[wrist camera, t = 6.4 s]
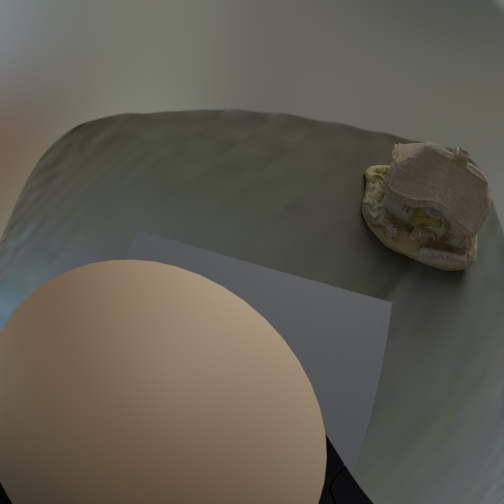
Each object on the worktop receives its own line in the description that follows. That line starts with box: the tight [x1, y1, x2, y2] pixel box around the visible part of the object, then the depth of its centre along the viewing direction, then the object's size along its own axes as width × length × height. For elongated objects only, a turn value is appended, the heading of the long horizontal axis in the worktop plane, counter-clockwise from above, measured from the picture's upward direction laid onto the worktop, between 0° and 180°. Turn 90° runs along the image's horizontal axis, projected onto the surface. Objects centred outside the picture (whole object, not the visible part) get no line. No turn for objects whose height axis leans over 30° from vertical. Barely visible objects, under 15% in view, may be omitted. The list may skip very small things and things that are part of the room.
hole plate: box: [124, 230, 392, 476], centre depth 19 cm, size 20×20×3 cm
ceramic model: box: [362, 141, 492, 271], centre depth 24 cm, size 14×11×10 cm
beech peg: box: [0, 260, 327, 504], centre depth 9 cm, size 5×5×13 cm
